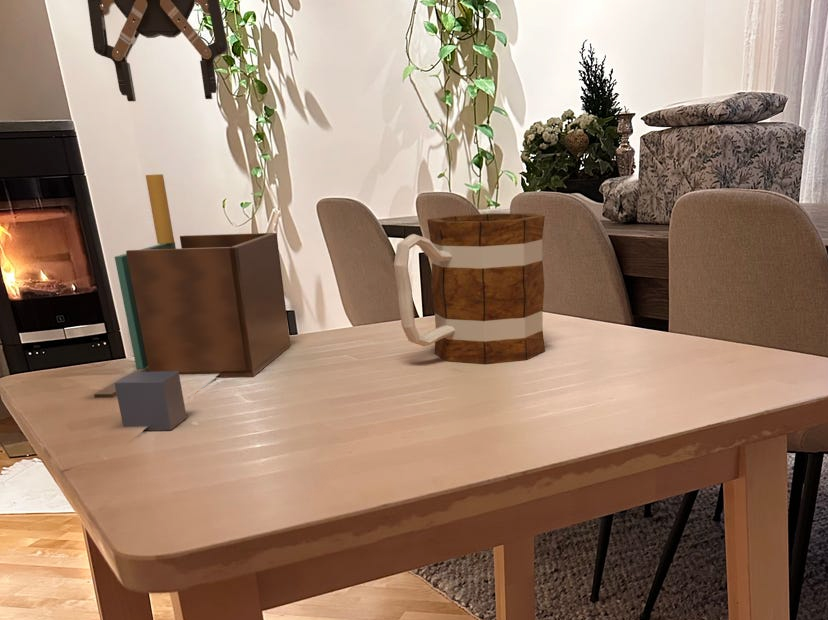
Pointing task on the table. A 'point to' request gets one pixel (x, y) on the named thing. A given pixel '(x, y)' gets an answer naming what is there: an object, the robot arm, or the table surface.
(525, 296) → the mug
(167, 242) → the sliding door
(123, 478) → the table surface
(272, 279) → the cubby
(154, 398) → the block
